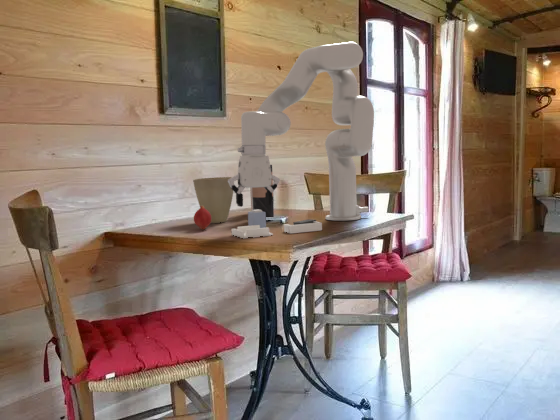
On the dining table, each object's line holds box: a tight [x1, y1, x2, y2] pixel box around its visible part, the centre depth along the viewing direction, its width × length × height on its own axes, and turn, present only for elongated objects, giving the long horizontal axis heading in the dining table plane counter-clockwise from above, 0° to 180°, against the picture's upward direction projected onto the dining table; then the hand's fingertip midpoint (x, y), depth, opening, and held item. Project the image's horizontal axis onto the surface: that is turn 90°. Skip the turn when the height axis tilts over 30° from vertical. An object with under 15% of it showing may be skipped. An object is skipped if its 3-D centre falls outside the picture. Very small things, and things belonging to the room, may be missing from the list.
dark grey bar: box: [292, 219, 317, 225], centre depth 182 cm, size 9×3×3 cm, turn 140°
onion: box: [193, 206, 212, 231], centre depth 191 cm, size 6×6×8 cm
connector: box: [247, 209, 267, 228], centre depth 185 cm, size 4×5×7 cm
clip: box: [283, 220, 323, 234], centre depth 180 cm, size 11×4×2 cm, turn 114°
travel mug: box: [252, 164, 275, 217], centre depth 210 cm, size 8×8×20 cm
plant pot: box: [192, 176, 234, 224], centre depth 210 cm, size 15×15×16 cm
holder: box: [231, 225, 274, 239], centre depth 174 cm, size 10×8×2 cm
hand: (254, 205), depth 184 cm, fingers open, 9 cm apart
